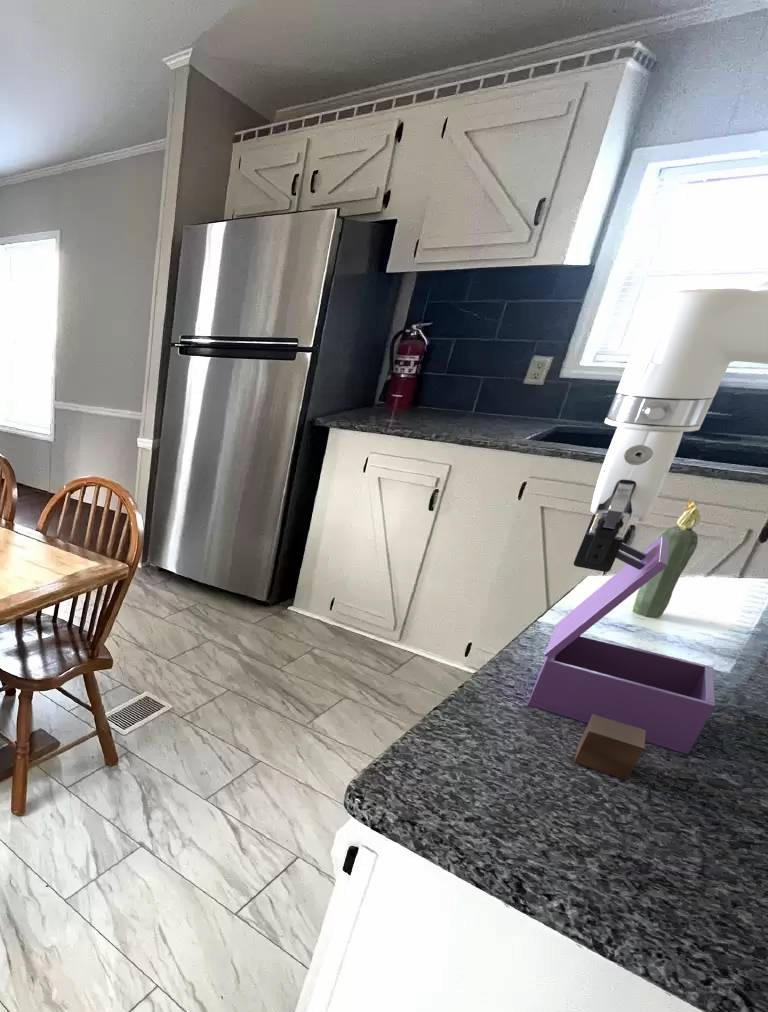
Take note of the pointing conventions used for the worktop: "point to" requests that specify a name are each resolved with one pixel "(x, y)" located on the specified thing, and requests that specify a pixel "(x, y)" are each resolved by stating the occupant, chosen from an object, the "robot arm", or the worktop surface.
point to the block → (610, 747)
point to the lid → (610, 592)
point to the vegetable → (669, 565)
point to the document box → (628, 690)
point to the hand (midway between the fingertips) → (594, 557)
